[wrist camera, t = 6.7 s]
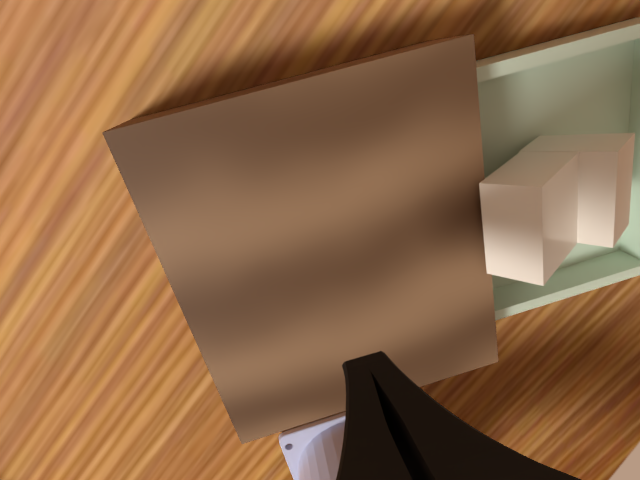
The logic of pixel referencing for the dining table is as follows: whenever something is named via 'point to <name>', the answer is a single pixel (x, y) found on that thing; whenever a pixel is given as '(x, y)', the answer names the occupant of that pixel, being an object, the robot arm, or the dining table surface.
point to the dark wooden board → (322, 227)
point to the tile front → (530, 215)
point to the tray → (565, 119)
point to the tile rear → (597, 181)
